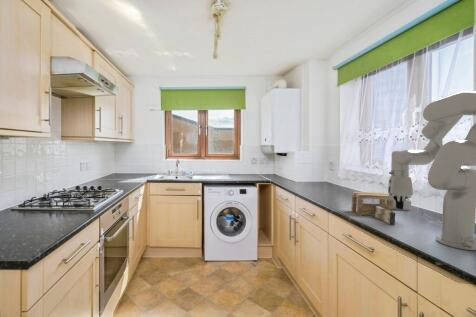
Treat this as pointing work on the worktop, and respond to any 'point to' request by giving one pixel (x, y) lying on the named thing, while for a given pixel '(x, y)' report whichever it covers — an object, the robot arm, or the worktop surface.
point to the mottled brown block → (385, 215)
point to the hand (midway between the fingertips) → (399, 208)
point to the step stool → (370, 208)
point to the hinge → (406, 204)
